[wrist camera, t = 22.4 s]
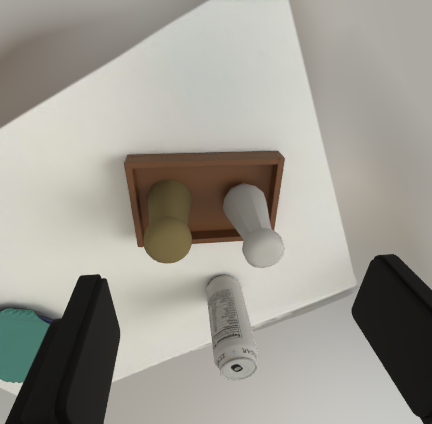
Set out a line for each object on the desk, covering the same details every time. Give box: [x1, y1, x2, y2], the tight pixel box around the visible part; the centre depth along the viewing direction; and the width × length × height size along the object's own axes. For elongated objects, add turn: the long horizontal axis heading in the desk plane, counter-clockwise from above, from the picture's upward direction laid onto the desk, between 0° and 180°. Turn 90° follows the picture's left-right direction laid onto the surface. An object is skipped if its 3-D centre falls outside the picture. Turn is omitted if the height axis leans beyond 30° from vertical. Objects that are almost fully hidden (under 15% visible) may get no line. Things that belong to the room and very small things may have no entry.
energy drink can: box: [206, 275, 258, 380], centre depth 43 cm, size 6×6×15 cm
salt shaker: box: [223, 183, 284, 268], centre depth 34 cm, size 6×6×13 cm
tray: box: [124, 151, 285, 247], centre depth 38 cm, size 20×13×3 cm, turn 89°
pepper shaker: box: [143, 179, 192, 263], centre depth 34 cm, size 6×6×11 cm
